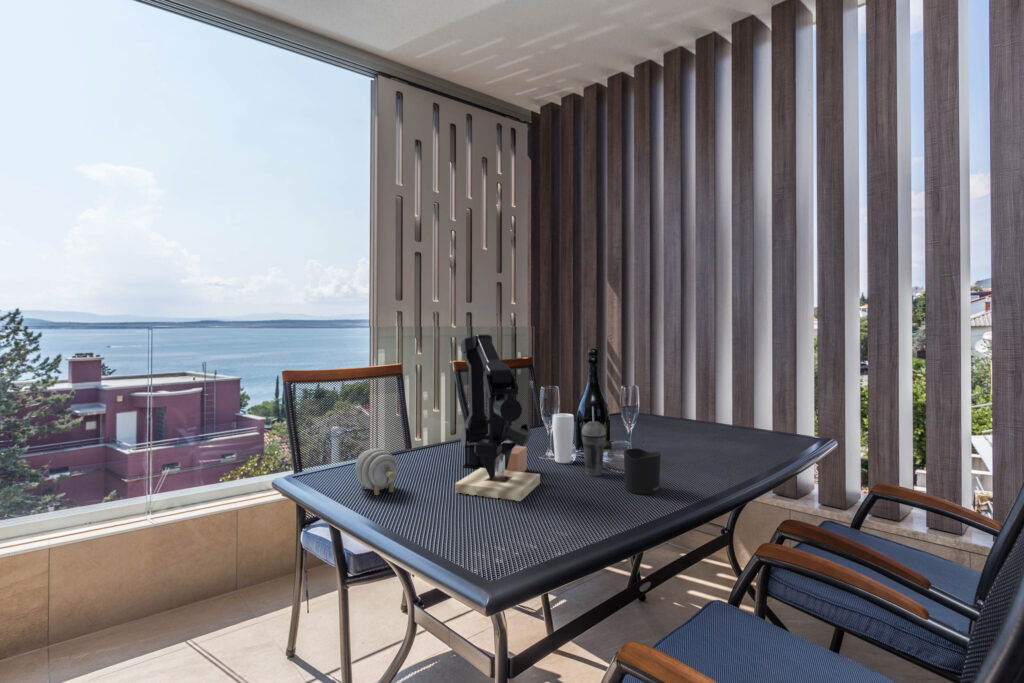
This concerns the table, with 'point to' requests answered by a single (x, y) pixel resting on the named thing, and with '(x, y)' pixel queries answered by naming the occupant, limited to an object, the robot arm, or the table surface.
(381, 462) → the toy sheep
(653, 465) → the pen holder
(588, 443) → the beverage cup
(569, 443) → the drinking glass
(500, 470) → the steel pin
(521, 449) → the block
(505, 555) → the table surface
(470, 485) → the pin board
